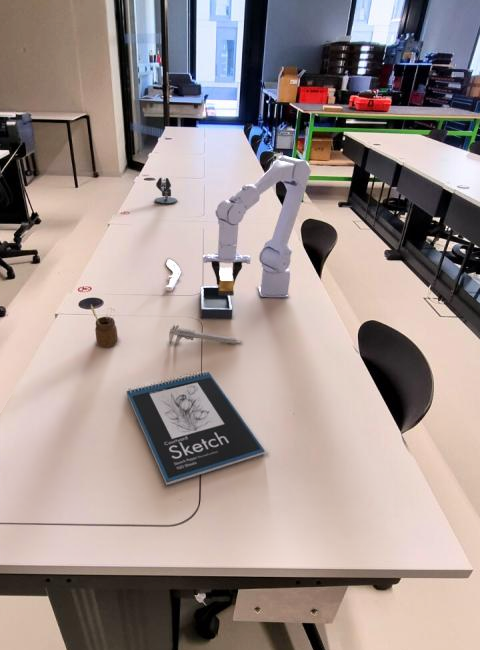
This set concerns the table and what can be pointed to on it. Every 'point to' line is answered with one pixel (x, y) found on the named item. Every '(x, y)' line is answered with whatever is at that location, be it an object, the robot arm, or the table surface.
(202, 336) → the caliper
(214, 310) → the case
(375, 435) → the table surface
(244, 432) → the sketchbook
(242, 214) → the robot arm
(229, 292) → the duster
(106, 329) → the utensil holder
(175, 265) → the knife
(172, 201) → the dark grey upright piece
